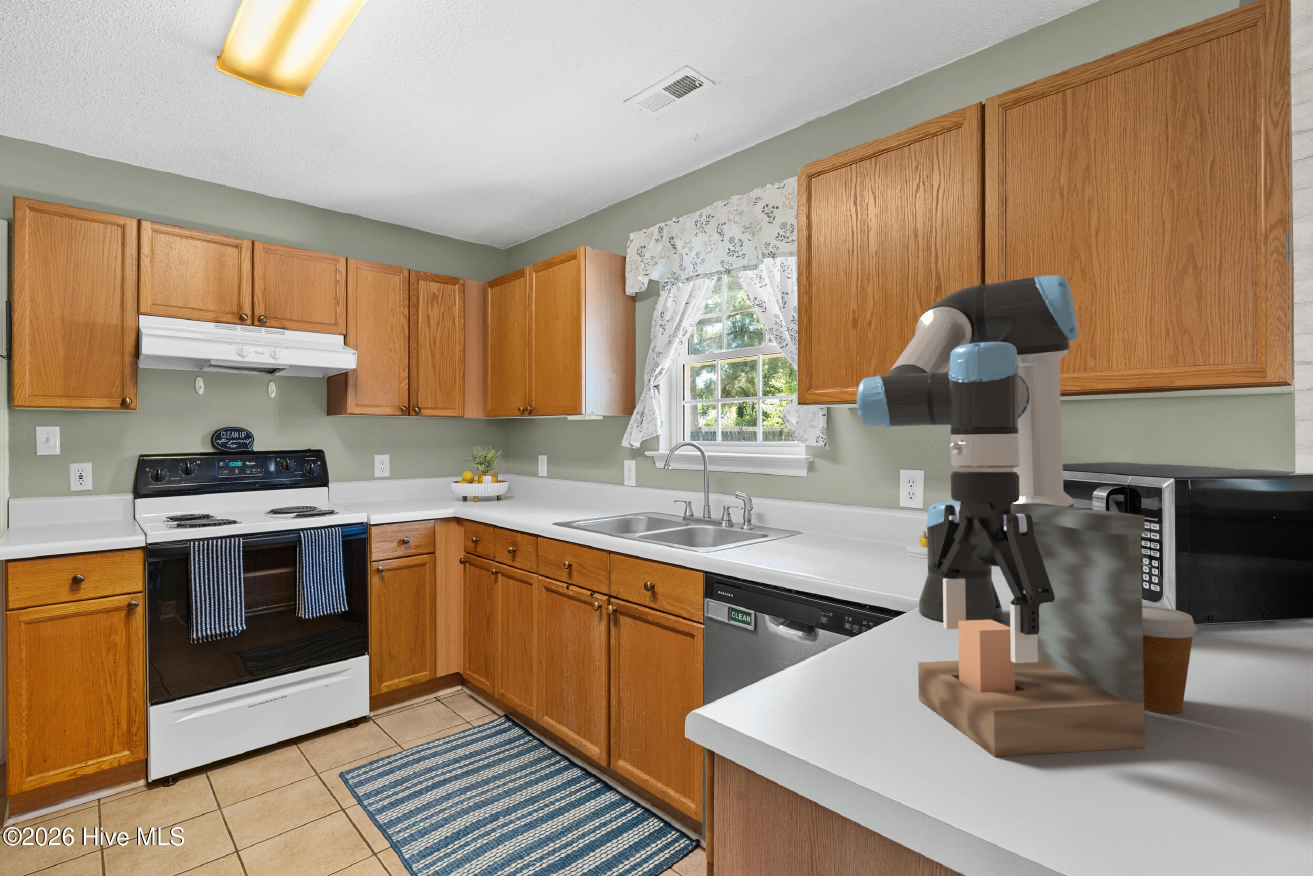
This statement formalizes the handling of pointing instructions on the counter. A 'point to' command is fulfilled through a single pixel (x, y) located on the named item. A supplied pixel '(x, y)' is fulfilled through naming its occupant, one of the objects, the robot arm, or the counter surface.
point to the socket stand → (1065, 647)
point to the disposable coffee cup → (1165, 657)
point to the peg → (985, 656)
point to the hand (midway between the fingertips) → (986, 643)
